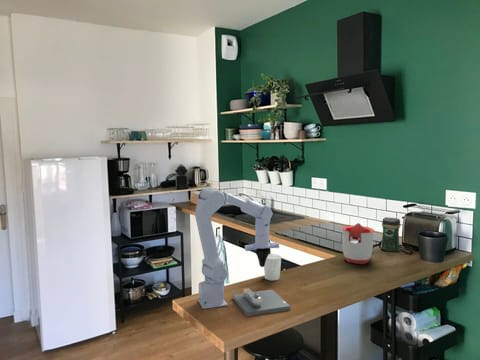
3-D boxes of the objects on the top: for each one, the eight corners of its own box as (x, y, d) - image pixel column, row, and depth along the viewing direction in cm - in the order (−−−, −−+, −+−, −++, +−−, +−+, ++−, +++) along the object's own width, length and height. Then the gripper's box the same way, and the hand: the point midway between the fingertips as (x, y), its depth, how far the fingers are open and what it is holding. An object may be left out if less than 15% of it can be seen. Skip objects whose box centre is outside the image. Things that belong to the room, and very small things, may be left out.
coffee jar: (400, 249, 223) (402, 217, 221) (397, 253, 217) (398, 220, 215) (383, 246, 229) (384, 215, 227) (379, 250, 222) (380, 218, 220)
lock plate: (247, 316, 139) (247, 300, 138) (232, 298, 154) (232, 283, 154) (290, 309, 145) (290, 293, 144) (272, 293, 160) (272, 278, 159)
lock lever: (263, 306, 143) (263, 298, 142) (253, 308, 141) (254, 299, 141) (250, 294, 154) (250, 286, 154) (241, 295, 153) (241, 287, 152)
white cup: (259, 277, 177) (260, 256, 176) (271, 273, 183) (271, 252, 182) (273, 282, 172) (273, 260, 171) (284, 278, 177) (284, 256, 176)
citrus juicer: (337, 263, 198) (338, 225, 196) (345, 254, 213) (346, 218, 211) (369, 268, 190) (370, 228, 188) (375, 259, 206) (376, 221, 204)
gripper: (274, 230, 166) (274, 261, 168) (242, 233, 162) (242, 264, 163) (281, 234, 160) (281, 266, 161) (248, 237, 155) (248, 270, 156)
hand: (261, 266), depth 162 cm, fingers closed
